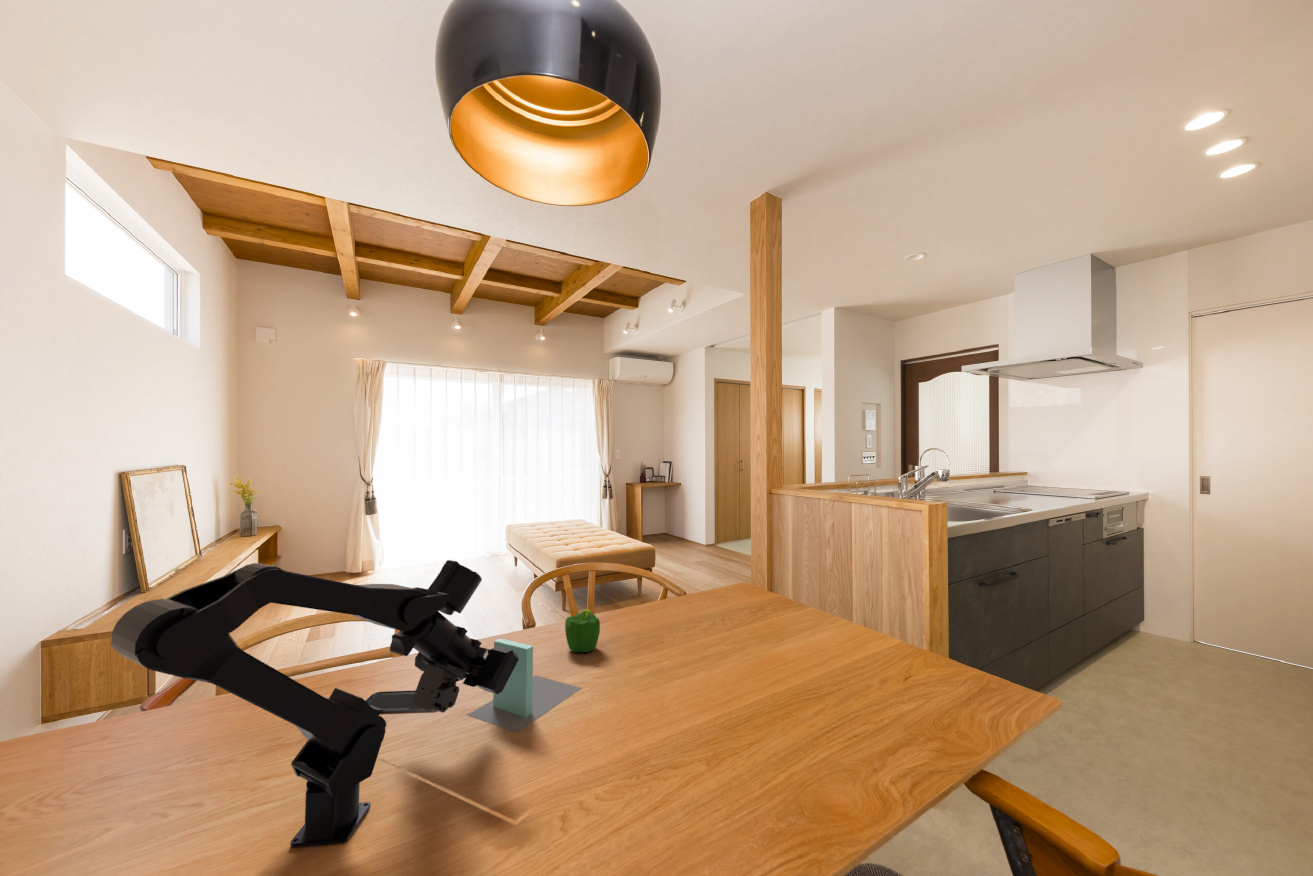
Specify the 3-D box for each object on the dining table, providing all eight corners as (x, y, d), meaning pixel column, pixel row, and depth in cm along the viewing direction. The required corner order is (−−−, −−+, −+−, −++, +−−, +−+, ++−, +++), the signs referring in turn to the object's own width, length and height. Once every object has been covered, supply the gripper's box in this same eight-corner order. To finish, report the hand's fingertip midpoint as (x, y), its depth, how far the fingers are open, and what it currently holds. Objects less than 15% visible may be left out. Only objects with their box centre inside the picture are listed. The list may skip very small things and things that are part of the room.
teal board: (525, 717, 87) (526, 649, 87) (493, 706, 91) (494, 641, 91) (532, 713, 88) (533, 646, 89) (499, 703, 92) (500, 638, 93)
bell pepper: (561, 646, 121) (561, 605, 121) (593, 641, 124) (593, 601, 125) (570, 659, 113) (570, 615, 113) (604, 653, 117) (604, 611, 117)
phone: (374, 692, 96) (453, 689, 97) (374, 697, 96) (453, 694, 97) (353, 712, 88) (439, 709, 89) (352, 719, 88) (439, 715, 89)
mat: (517, 734, 82) (517, 732, 82) (466, 717, 88) (466, 714, 88) (581, 690, 98) (581, 688, 98) (535, 677, 104) (535, 675, 104)
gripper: (365, 678, 75) (427, 717, 85) (448, 708, 66) (507, 747, 76) (412, 612, 82) (464, 654, 92) (493, 630, 74) (542, 675, 83)
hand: (492, 682), depth 85 cm, fingers closed
